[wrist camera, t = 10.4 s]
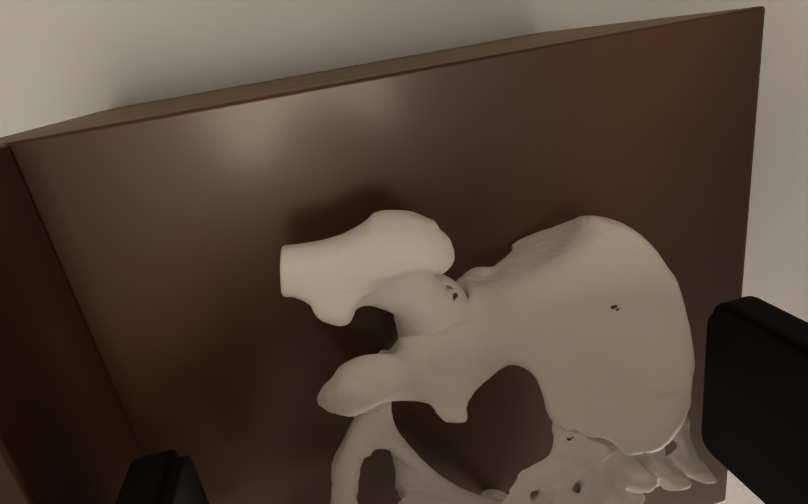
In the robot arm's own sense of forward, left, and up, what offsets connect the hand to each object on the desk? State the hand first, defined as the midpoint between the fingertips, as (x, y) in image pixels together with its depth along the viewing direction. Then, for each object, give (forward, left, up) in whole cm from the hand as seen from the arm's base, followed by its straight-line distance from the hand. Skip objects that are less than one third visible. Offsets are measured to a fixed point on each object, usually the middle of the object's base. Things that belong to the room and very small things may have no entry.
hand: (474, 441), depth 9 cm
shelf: (0, 0, -11) cm, 11 cm away
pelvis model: (0, 0, -2) cm, 2 cm away
